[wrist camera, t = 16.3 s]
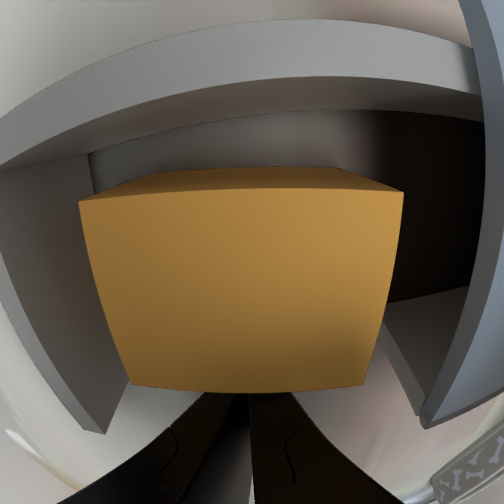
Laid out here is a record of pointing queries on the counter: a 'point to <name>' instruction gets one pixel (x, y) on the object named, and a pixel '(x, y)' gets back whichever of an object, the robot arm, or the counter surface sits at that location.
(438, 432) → the counter surface
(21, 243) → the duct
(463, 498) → the dog bowl
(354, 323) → the mustard yellow box
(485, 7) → the panel
